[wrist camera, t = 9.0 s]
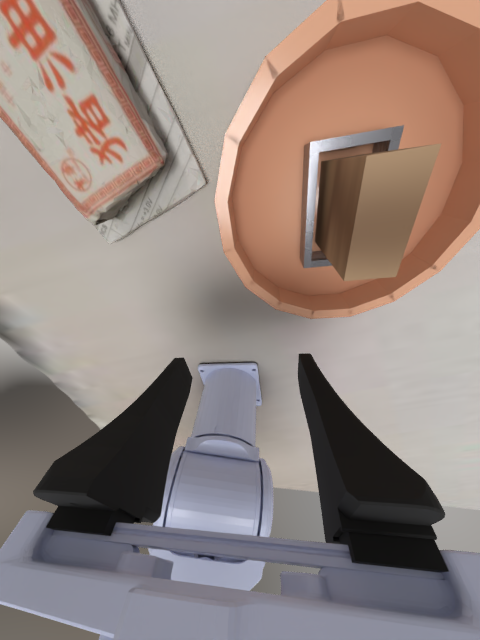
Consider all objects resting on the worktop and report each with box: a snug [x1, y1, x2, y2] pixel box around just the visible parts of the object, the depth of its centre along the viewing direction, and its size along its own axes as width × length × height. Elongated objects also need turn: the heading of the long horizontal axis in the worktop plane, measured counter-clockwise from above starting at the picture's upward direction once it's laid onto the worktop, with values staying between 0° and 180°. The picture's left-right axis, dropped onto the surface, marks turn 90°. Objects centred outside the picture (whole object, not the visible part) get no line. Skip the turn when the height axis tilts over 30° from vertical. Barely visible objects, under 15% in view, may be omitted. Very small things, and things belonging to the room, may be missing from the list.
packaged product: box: [0, 0, 207, 244], centre depth 11 cm, size 18×5×10 cm
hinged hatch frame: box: [300, 125, 404, 268], centre depth 14 cm, size 7×5×2 cm, turn 8°
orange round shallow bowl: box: [214, 0, 480, 319], centre depth 14 cm, size 16×16×4 cm
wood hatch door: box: [315, 143, 442, 281], centre depth 11 cm, size 5×2×7 cm, turn 8°
